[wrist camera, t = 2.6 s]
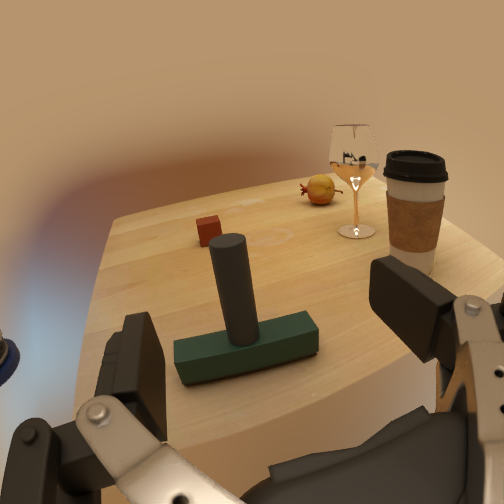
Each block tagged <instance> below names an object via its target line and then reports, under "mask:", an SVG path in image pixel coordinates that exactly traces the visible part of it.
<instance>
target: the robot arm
mask: <svg viewBox="0 0 504 504" xmlns="http://www.w3.org/2000/svg"><path fill="white" fill-rule="evenodd" d="M369 302H370V306H371V308H372V310H373V311H374V312H375V313H376V314H377V315H378V316H379V317H380V318H381V320H382V321H383V322H384V323H385V324H386V325H387V326H388V327H389V328H390V329H391V330H392V331H393V332H394V333H395V334H396V335H397V336H398V337H399V338H400V339H401V340H402V341H403V342H404V343H405V344H406V345H407V346H408V347H409V348H410V349H411V351H412V352H413V353H414V354H415V355H416V356H417V357H418V358H419V359H420V360H421V361H422V362H423V363H426V362H428V361H430V360H432V359H433V358H437V359H438V362H437V365H436V409H435V413H431V414H429V413H428V411H427V410H426V409H425V407H424V406H423V405H422V406H420V407H418V408H417V409H415V410H413V411H411V412H409V413H407V414H405V415H403V416H401V417H399V418H397V419H395V420H393V421H391V422H390V423H389V424H387V425H386V426H385V427H384V428H382V429H381V430H380V431H379V432H377V433H376V434H375V435H373V436H372V437H371V438H370V439H368V440H367V441H365V442H364V443H363V444H361V445H360V446H357V447H354V448H348V449H342V450H335V451H328V452H321V453H312V454H309V455H306V456H302V457H299V458H296V459H292V460H289V461H286V462H283V463H279V464H275V465H271V466H269V467H268V468H269V472H270V477H268V478H267V479H265V480H263V481H261V482H259V483H258V484H256V485H255V486H253V487H252V488H251V489H249V490H248V491H247V492H246V493H244V494H243V496H241V497H240V498H239V499H238V498H237V497H236V496H234V495H233V494H231V493H230V492H228V491H227V490H225V489H224V488H223V487H221V486H220V485H219V484H217V483H216V482H214V481H213V480H212V479H211V478H209V477H208V476H207V475H205V474H204V473H202V472H201V471H200V470H199V469H198V468H196V467H195V466H194V465H193V464H191V463H190V462H189V461H188V460H187V459H185V458H184V457H183V456H182V455H181V454H179V453H178V452H177V451H176V450H175V449H174V448H172V447H171V446H170V445H168V444H167V443H164V444H162V443H161V442H163V441H167V421H166V383H165V358H164V353H163V350H162V347H161V344H160V341H159V339H158V336H157V333H156V331H155V328H154V325H153V323H152V320H151V317H150V315H149V313H148V312H141V313H136V314H131V315H126V317H125V320H124V325H123V329H122V331H120V332H115V333H114V334H113V335H112V337H111V338H110V339H109V341H108V342H107V343H106V347H105V351H104V356H103V359H102V365H101V368H100V372H99V377H98V381H97V386H96V390H95V395H94V398H91V399H90V400H88V401H87V402H85V403H84V404H83V405H82V406H81V407H80V409H79V410H78V412H77V415H76V420H75V421H72V422H69V423H66V424H63V425H60V426H58V427H54V428H51V426H50V425H49V424H48V423H47V422H46V421H45V420H43V419H41V418H30V419H27V420H25V421H24V422H22V423H21V424H20V425H19V426H18V427H17V429H16V430H15V432H14V434H13V437H12V441H11V445H10V449H9V453H8V458H7V462H6V467H5V472H4V477H3V483H2V489H1V496H0V504H101V489H102V488H105V487H108V486H112V485H116V486H117V488H118V489H119V490H120V491H121V493H122V494H123V495H124V496H125V497H126V498H127V499H128V501H129V502H130V503H131V504H504V293H503V297H502V300H501V303H497V304H492V305H489V303H488V302H486V301H485V300H484V299H482V298H480V297H477V296H473V295H463V296H460V297H456V296H455V295H454V294H452V293H451V292H450V291H448V290H447V289H445V288H444V287H443V286H441V285H440V284H438V283H437V282H434V281H433V279H431V278H430V277H428V276H426V275H425V274H424V273H423V272H421V271H420V270H418V269H416V268H414V267H411V266H408V265H406V264H404V263H403V262H401V261H400V260H398V259H397V258H395V257H394V256H392V255H389V256H386V257H382V258H378V259H375V260H373V261H372V263H371V268H370V286H369ZM9 351H10V350H9V346H8V345H7V343H6V341H5V340H4V339H3V337H2V332H1V330H0V368H1V367H2V366H3V365H4V363H5V362H6V360H7V358H8V356H9Z"/></svg>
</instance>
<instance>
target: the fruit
mask: <svg viewBox="0 0 504 504" xmlns="http://www.w3.org/2000/svg"><path fill="white" fill-rule="evenodd" d="M300 186H301V187H303V188H302V189H300V190H301V191H303V192H302V194H301V196H302V195H303V196H304V193H308V198H309V199H310V201H311V202H313V203H315V204H327V203H329V202H330V201H331V200H332V199H333V196H334V194H335V191H336V192H341V193H342V194H343V192H342V191H338V190H335V186H334V183H333V181H332V179H331V178H330V177H328V176H326V175H324V174H318V175H315V176H313V177H311V179H310V180H309V183H308V186H303V185H302V184H300Z"/></svg>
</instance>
